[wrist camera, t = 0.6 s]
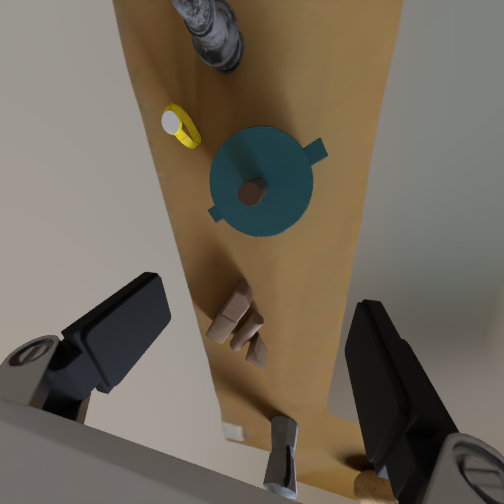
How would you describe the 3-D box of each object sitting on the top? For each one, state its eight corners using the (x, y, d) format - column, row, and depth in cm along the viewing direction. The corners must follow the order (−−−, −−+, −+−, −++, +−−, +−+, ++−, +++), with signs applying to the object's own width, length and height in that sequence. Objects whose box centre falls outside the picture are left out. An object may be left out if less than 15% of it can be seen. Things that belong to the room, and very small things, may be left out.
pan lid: (194, 168, 28) (169, 171, 23) (281, 99, 23) (274, 81, 17) (245, 247, 32) (233, 266, 27) (330, 206, 26) (337, 219, 21)
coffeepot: (293, 436, 67) (290, 522, 51) (266, 426, 68) (256, 507, 52) (306, 416, 60) (308, 509, 44) (277, 405, 61) (268, 492, 45)
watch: (209, 142, 31) (191, 139, 26) (197, 152, 33) (177, 151, 27) (188, 104, 30) (163, 93, 25) (176, 116, 31) (150, 107, 26)
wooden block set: (201, 341, 46) (232, 293, 37) (211, 323, 51) (241, 277, 42) (261, 376, 47) (306, 338, 38) (265, 355, 51) (306, 317, 43)
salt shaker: (230, 2, 24) (174, -117, 13) (253, 55, 25) (220, -15, 15) (196, 41, 26) (126, -35, 16) (220, 86, 28) (170, 45, 17)
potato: (343, 463, 67) (348, 499, 60) (386, 463, 61) (397, 503, 54) (358, 477, 69) (364, 513, 62) (400, 478, 63) (413, 519, 56)
